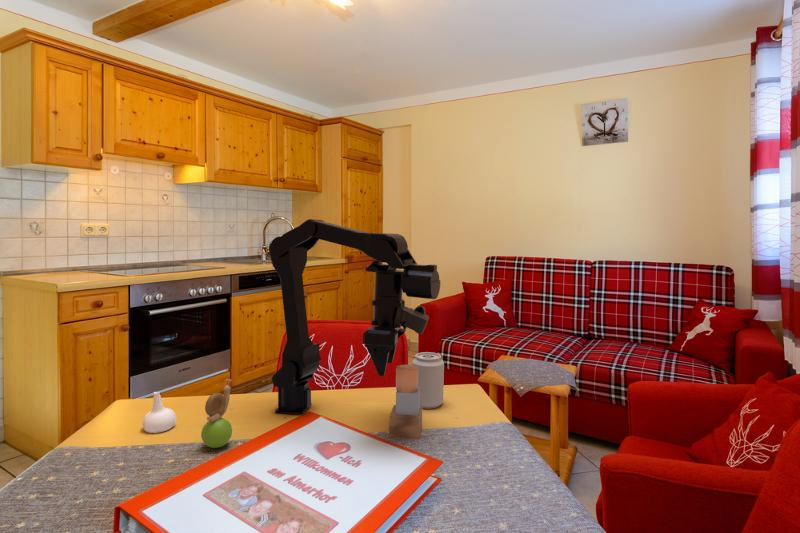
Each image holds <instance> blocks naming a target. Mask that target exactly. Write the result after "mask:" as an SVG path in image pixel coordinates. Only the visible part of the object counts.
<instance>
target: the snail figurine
mask: <svg viewBox="0 0 800 533" xmlns="http://www.w3.org/2000/svg"><path fill="white" fill-rule="evenodd" d="M225 382H226V385H225V386H224V387H223V394H222V393H221V392H214V393H212V394H211V395H209V397H208V398H207V400H206V401H205V404H204V405H205V406H204V410H205V414H206V415H207V417H206V420H207V422H206V423H205V424H204V425H203V427H202V429H201V435H200V436H201V441H202V442H203V444H204V445H206V446H207V447H208V448H211V449H219V448H221V447H224V446H225V445H227V443H228V442H229V441H230V440H231V438H232V435H233V427H232V424H231V423H230V422H229V421H228V420H227V419H226V418H223V416H224V415H225V414H226V413H227V410H228V408H229V407H228V406H229V404H230V399H231V398H230V397H231V396H230V393H231V390H232V387H231V385H230V384H228V382H229V383H231V382H232V379H231V378H230V379H229V378H226V379H225Z"/></svg>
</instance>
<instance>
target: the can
mask: <svg viewBox="0 0 800 533" xmlns="http://www.w3.org/2000/svg"><path fill="white" fill-rule="evenodd" d="M414 357H415V358H414V359H413V360H412V364H411V365H414V366H417V367H418V386H420V407H422V409H428V410H429V409H436V408H439V406H440V405H442V404H443V403H444V388H445V387H444V381H445V380H444V379H445V378H444V375H445V374H444V373H445V362H444V360H443V359H442V355H441V354H439V353H436V352H432V351H431V352H429V351H425V352H418V353H416V354H415V355H414Z"/></svg>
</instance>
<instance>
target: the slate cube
mask: <svg viewBox="0 0 800 533" xmlns="http://www.w3.org/2000/svg"><path fill="white" fill-rule="evenodd" d="M395 405H396V414H398V415H415V416H418V413H419V408H420V386H418V391H416V392H414V393H401V392H398V391H397V390H396V391H395Z"/></svg>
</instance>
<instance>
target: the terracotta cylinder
mask: <svg viewBox="0 0 800 533" xmlns="http://www.w3.org/2000/svg"><path fill="white" fill-rule="evenodd" d="M395 374H396V375H395V390H396V391H398V392H401V393H414V392H416V391H418V367H417V366H414V365H412V364H400V365H397V366H396V369H395Z"/></svg>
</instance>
